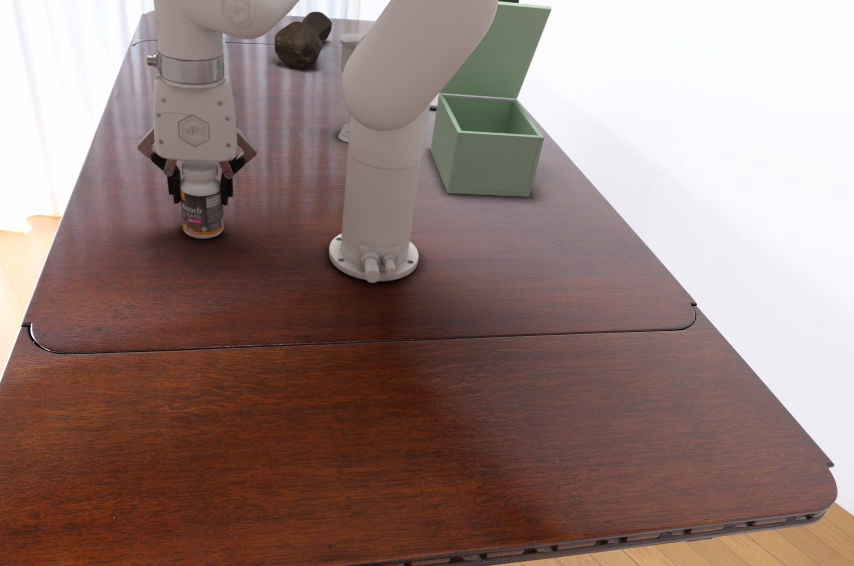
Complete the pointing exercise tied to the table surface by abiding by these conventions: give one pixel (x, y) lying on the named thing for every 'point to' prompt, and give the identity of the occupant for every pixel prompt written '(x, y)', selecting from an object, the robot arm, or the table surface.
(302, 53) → the dark brown bone
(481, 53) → the lid
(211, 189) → the pill bottle
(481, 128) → the dish box
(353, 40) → the chalice
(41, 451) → the table surface
